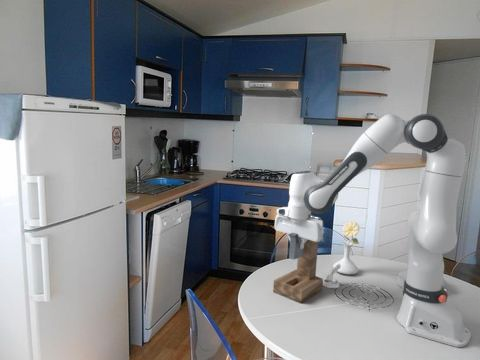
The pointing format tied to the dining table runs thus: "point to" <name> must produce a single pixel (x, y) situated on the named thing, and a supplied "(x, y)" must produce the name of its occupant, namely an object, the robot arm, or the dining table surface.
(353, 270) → the flower in vase
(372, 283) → the dining table surface
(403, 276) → the food container
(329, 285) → the white ring with bar
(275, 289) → the wooden l-shaped post
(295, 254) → the grey rectangular block
